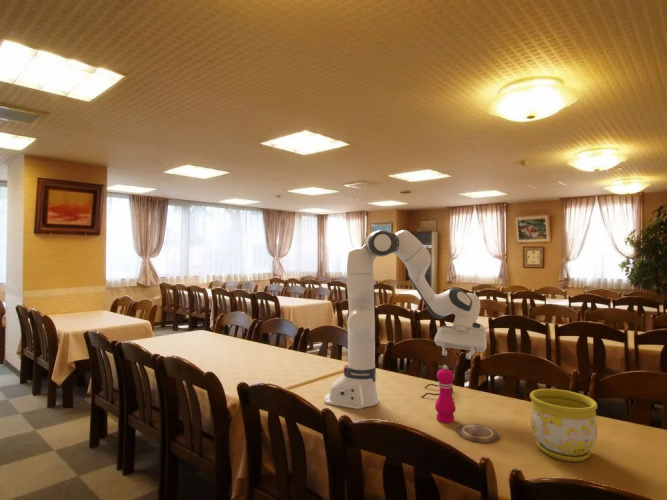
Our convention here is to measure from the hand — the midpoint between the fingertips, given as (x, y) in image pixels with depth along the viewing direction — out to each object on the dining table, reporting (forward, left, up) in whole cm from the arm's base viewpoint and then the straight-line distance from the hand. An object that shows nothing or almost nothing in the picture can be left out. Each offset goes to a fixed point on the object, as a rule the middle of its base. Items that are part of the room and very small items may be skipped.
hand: (455, 356), depth 157 cm
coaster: (+5, -21, -21) cm, 30 cm away
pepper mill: (-5, -11, -21) cm, 24 cm away
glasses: (-7, +17, -21) cm, 28 cm away
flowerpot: (+29, -28, -21) cm, 46 cm away
